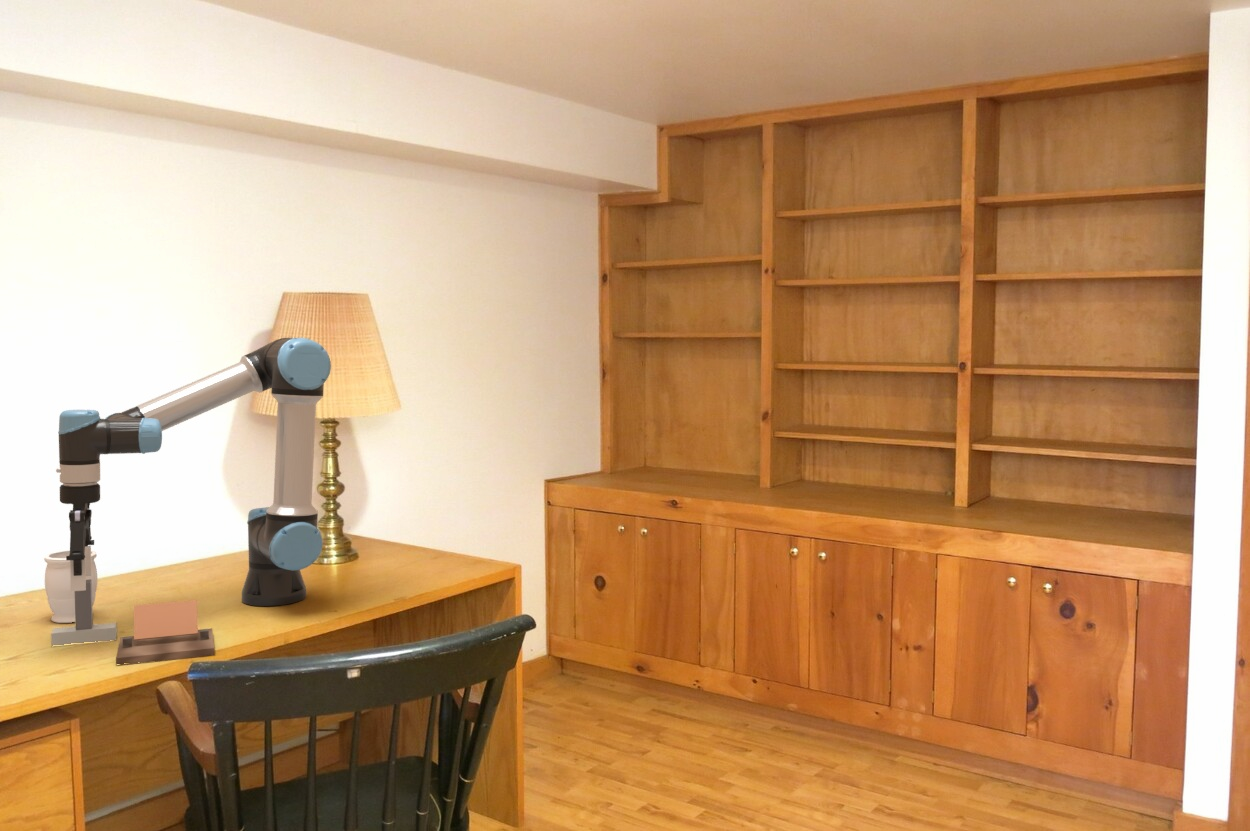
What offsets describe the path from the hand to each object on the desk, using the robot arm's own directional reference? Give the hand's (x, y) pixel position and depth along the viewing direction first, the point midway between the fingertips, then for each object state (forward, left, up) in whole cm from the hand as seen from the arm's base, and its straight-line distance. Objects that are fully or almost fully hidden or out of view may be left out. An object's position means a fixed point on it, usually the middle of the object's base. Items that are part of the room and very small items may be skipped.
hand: (81, 583), depth 215 cm
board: (-16, +12, -13) cm, 24 cm away
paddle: (0, 0, -13) cm, 13 cm away
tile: (-16, +10, -7) cm, 21 cm away
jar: (+4, -20, -13) cm, 24 cm away
